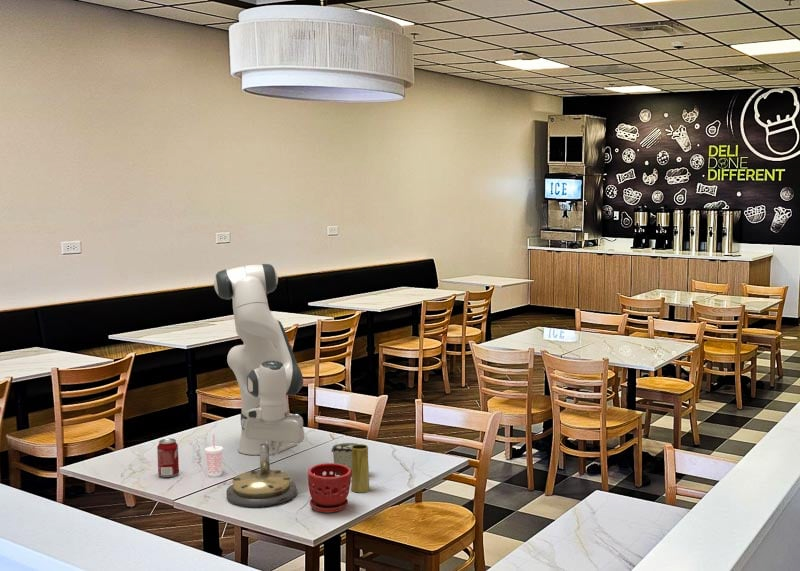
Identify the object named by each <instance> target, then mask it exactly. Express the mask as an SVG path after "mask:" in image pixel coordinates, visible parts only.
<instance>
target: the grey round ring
mask: <svg viewBox="0 0 800 571" xmlns="http://www.w3.org/2000/svg"><path fill="white" fill-rule="evenodd" d="M225 492H226V493H225V495H226V500H227V502H228V503H230V504H231V505H234V506H235V507H241V508H248V509H249V508H250V509H262V508H264V509H265V508H273V507H277V506H280V505H284V504H287V503H290V502H291V501H293V500H294V499H295V498H296V496H297V495H298V486H297V484H296V483H295V482H293V481H292V480H290V489H289V490H288V491H287V492H285V493H283V494H281V495H278V496H274V497H268V498H246V497H241V496H238V495H236V494H235V493H234V492H233V484H230V486H228V487H227V489H226V491H225Z"/></svg>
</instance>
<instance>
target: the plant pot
mask: <svg viewBox="0 0 800 571" xmlns="http://www.w3.org/2000/svg"><path fill="white" fill-rule="evenodd" d="M337 471H338V472H340V474H341V476H337V475H336V474H335V473H336V472H337ZM324 472H325V475H324ZM331 472H332V474H331ZM351 480H352V477H351V469H350V468H349V467H347V466H345V465H341V464H335V463H334V462H332V463H330V462H328V463H319V464H316V465H312V466H311V467H309V468H308V471H307V485H308V486H307V487H308V491H309V495H310V497H311V498H310V500H309V505H310V507H311V508H312V509H313V510H315V511H317V512H320V513H335V512H340V511H343V510H344V509H345V508H346V507H347V506H348V505H349V504H348V503H349V500H348V496H349V493H350V490H351Z"/></svg>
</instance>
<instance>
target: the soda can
mask: <svg viewBox="0 0 800 571" xmlns="http://www.w3.org/2000/svg"><path fill="white" fill-rule="evenodd" d="M156 450H157V475H158V476H160V477H162V478H164V479H165V478H172V477H176V475H177V476H178V475H179V474H180V469H179V467H180V466H179V444H178V443H177V440H176V439H175V438H163V439H160V440H158V444H157V447H156Z"/></svg>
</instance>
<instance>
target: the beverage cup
mask: <svg viewBox="0 0 800 571" xmlns="http://www.w3.org/2000/svg"><path fill="white" fill-rule="evenodd" d="M215 441H216V440H215V433H213V434H212V443H213V444H212V445H211V446H208V447H206V448H204V453H205V456H206V457H205V458H206V467H207V468H206V469H207V476H209V477H219V476H221V475H222V474H223V473H222V472H223V452H224V447H223V446H220V445H216V444H215Z"/></svg>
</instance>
